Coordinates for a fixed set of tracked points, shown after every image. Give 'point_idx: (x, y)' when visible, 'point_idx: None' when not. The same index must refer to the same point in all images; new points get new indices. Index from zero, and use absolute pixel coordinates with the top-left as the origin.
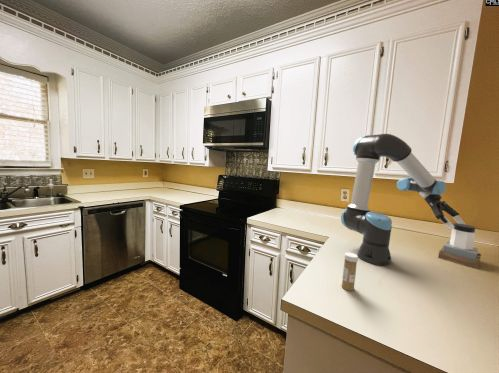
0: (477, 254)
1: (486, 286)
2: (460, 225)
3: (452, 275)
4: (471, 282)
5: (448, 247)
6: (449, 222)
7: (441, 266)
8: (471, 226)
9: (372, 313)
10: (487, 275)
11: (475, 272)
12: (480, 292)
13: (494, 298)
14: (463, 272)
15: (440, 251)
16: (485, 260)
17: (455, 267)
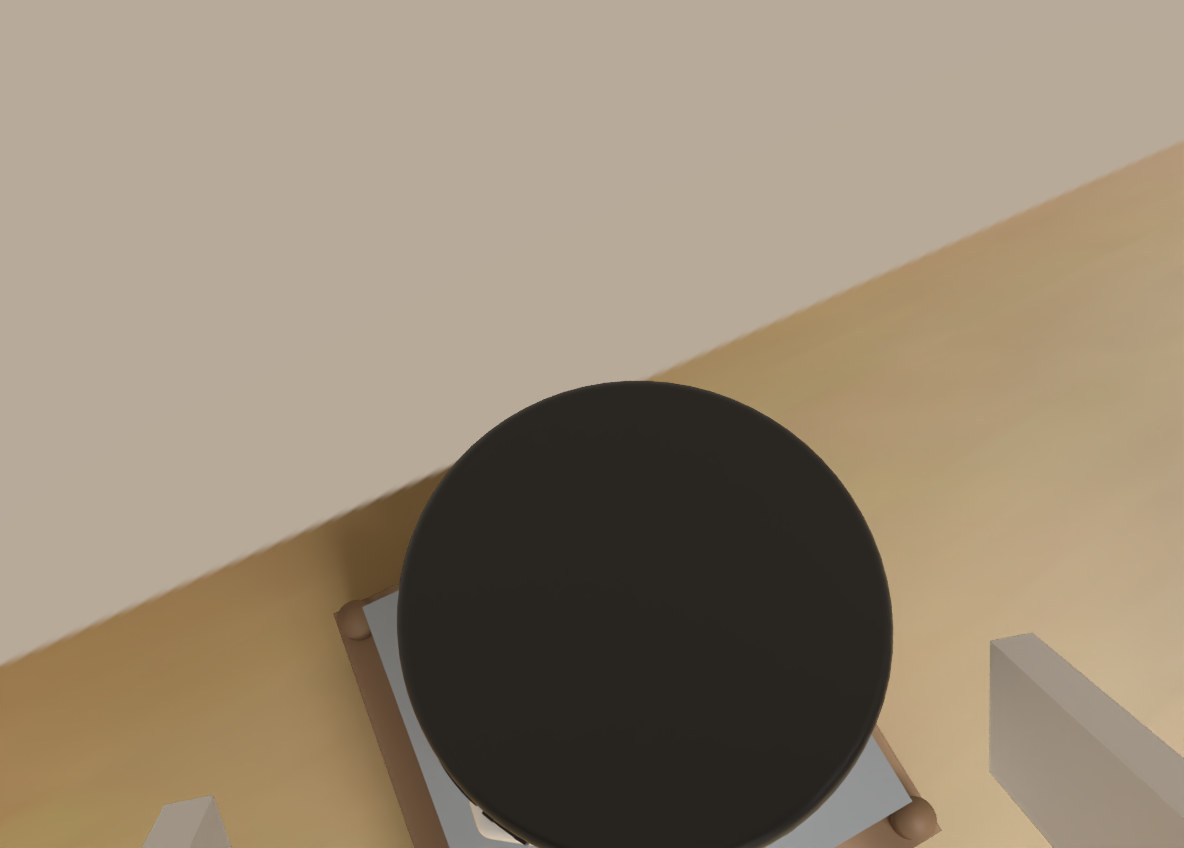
0: (370, 633)
1: (1021, 256)
2: (801, 607)
3: (1176, 424)
4: (1098, 312)
5: (872, 743)
6: (1167, 763)
7: (1118, 597)
8: (515, 491)
9: None
10: (761, 373)
11: (823, 433)
12: (1179, 212)
13: (1145, 157)
14: (973, 451)
15: (930, 816)
16: (227, 646)
17: (945, 551)
